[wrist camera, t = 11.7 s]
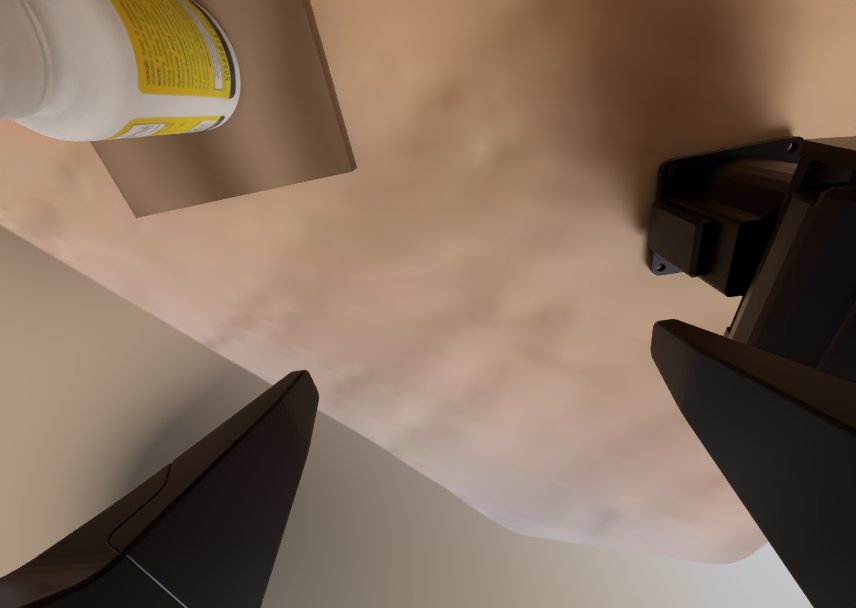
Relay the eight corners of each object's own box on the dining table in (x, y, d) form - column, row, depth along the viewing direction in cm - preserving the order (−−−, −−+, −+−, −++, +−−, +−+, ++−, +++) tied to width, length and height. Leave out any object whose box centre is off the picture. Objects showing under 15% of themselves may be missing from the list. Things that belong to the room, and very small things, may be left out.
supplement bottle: (149, -44, 15) (-271, -259, 6) (264, 59, 16) (59, 5, 8) (109, 73, 17) (-243, 37, 8) (215, 155, 18) (11, 196, 10)
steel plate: (286, -81, 15) (274, -96, 14) (357, 168, 19) (351, 171, 18) (31, 3, 17) (2, -4, 16) (151, 212, 21) (136, 217, 20)
